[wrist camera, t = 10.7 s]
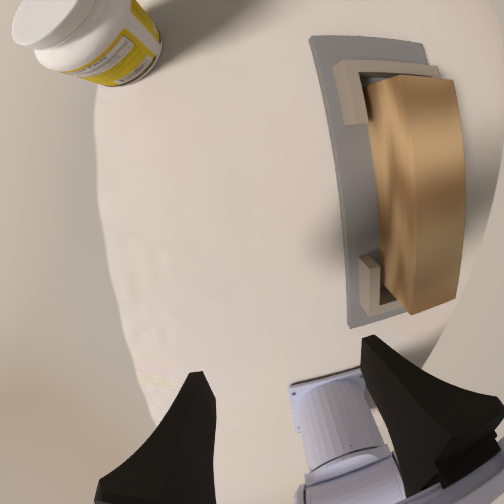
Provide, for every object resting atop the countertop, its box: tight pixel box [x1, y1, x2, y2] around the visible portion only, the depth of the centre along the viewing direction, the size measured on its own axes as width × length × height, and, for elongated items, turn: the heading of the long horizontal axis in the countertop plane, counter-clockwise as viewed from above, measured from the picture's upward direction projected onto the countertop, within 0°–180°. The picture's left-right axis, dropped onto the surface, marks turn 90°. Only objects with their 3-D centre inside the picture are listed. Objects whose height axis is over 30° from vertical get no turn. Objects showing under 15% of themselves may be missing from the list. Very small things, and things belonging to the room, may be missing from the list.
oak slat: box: [362, 75, 465, 315], centre depth 15 cm, size 14×4×5 cm, turn 12°
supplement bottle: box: [12, 0, 162, 87], centre depth 9 cm, size 5×5×10 cm
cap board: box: [309, 36, 440, 329], centre depth 17 cm, size 22×9×3 cm, turn 11°
